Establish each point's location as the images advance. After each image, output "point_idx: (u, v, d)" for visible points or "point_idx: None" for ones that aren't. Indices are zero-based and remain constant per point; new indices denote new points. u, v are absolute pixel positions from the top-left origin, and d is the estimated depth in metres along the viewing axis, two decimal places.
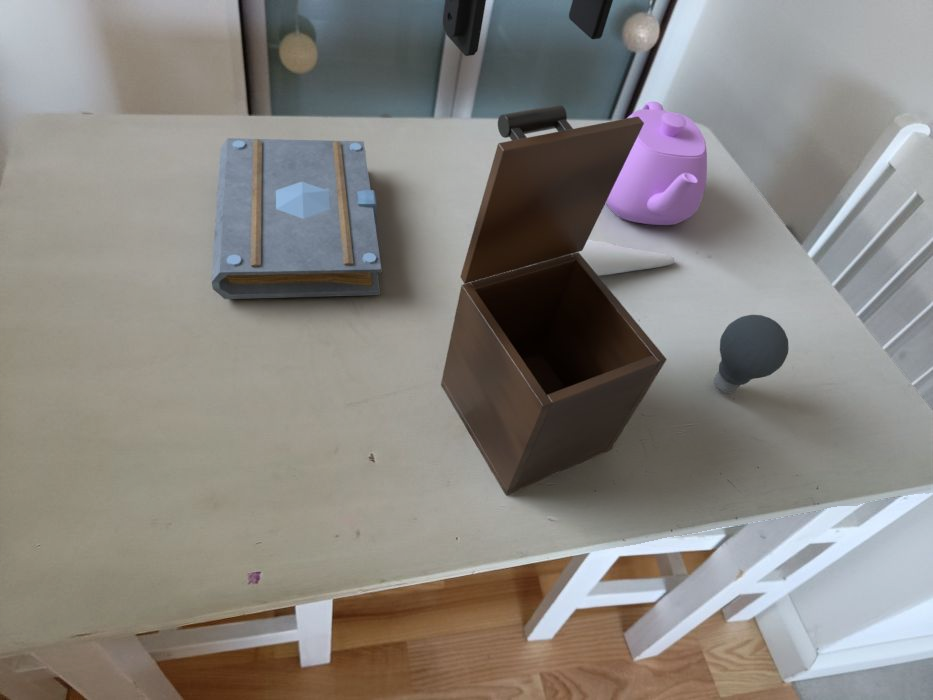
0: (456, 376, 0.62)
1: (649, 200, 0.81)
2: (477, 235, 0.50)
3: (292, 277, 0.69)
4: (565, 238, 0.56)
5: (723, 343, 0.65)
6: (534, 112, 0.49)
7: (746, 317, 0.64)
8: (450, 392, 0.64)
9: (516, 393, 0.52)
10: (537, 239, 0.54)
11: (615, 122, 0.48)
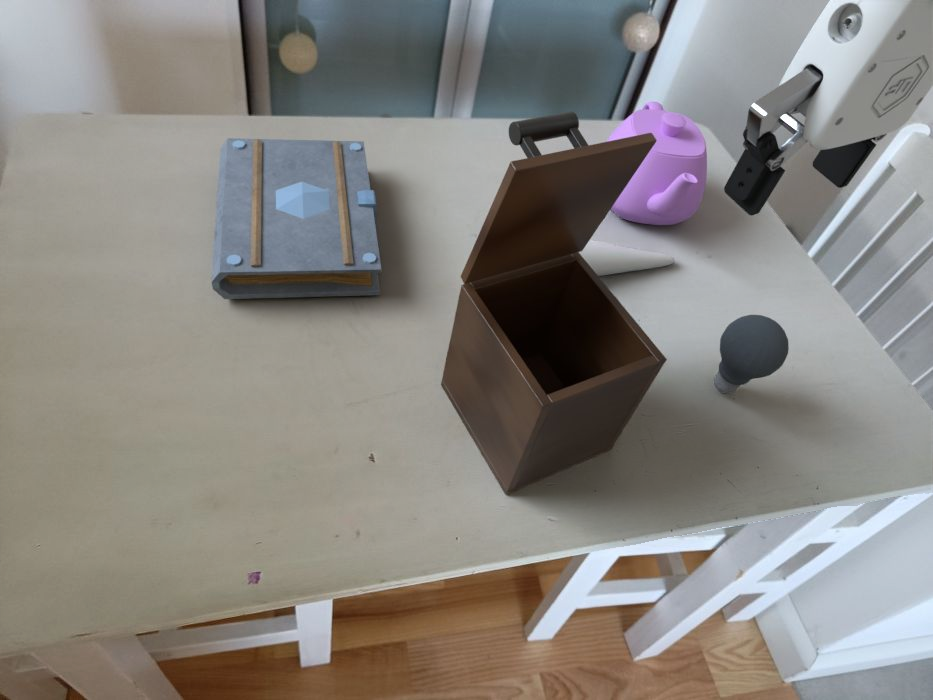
0: (456, 376, 0.62)
1: (649, 200, 0.81)
2: (481, 243, 0.50)
3: (292, 277, 0.69)
4: (567, 241, 0.56)
5: (723, 343, 0.65)
6: (546, 120, 0.48)
7: (746, 317, 0.64)
8: (450, 392, 0.64)
9: (516, 393, 0.52)
10: (540, 244, 0.54)
11: (628, 139, 0.47)
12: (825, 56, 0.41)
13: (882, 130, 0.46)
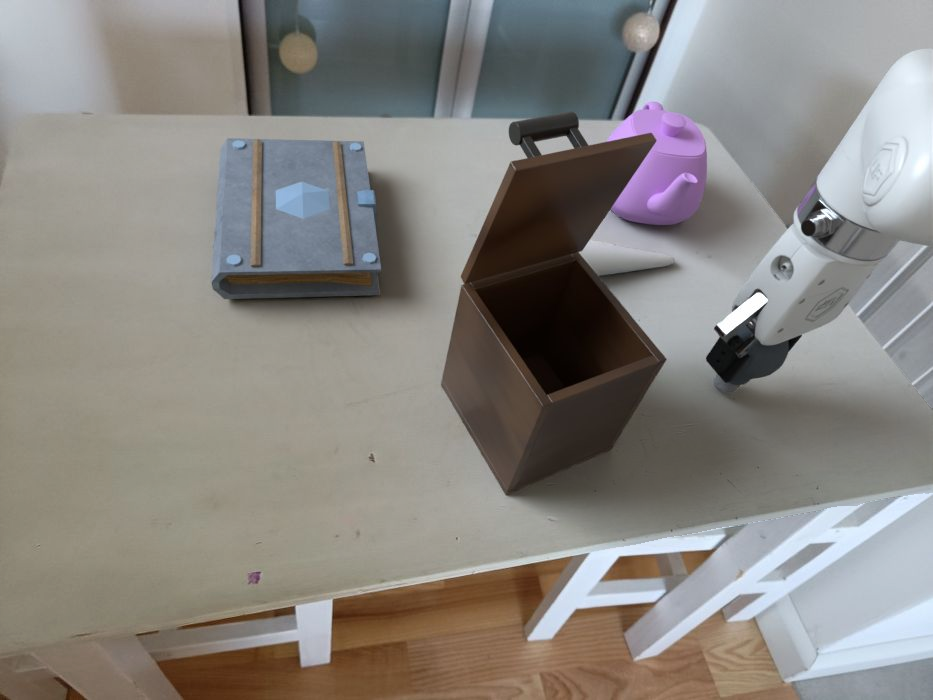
0: (456, 376, 0.62)
1: (649, 200, 0.81)
2: (481, 243, 0.50)
3: (291, 277, 0.69)
4: (567, 241, 0.56)
5: None
6: (546, 120, 0.48)
7: None
8: (450, 392, 0.64)
9: (516, 393, 0.52)
10: (540, 244, 0.54)
11: (628, 139, 0.47)
12: (769, 287, 0.55)
13: (817, 326, 0.60)
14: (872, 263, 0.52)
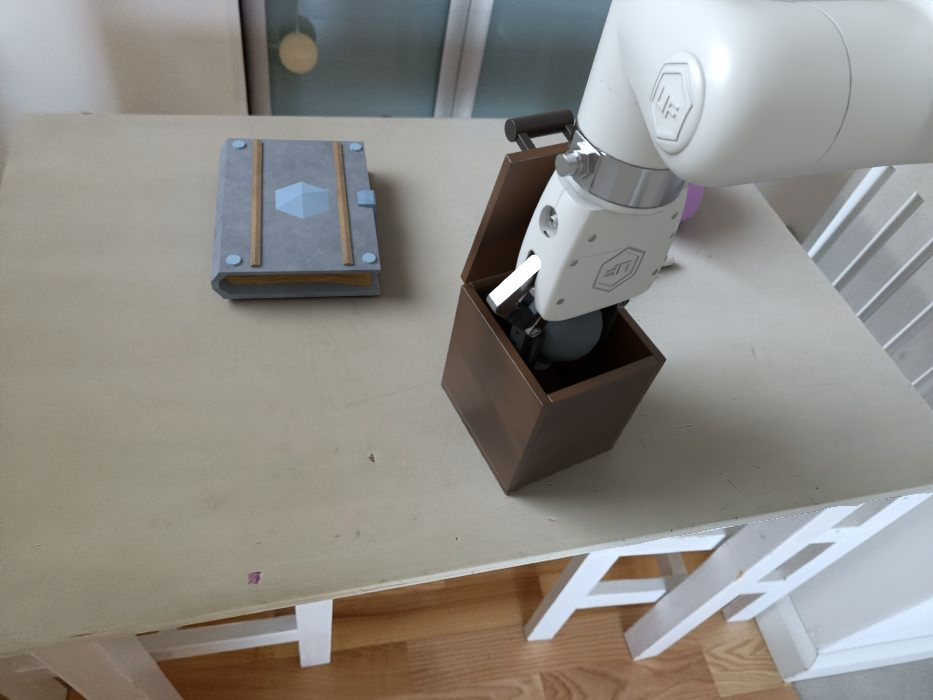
0: (456, 376, 0.62)
1: None
2: (479, 240, 0.50)
3: (291, 277, 0.69)
4: None
5: None
6: (542, 117, 0.49)
7: None
8: (450, 392, 0.64)
9: (516, 393, 0.52)
10: None
11: None
12: (539, 246, 0.45)
13: (621, 298, 0.49)
14: (650, 212, 0.41)
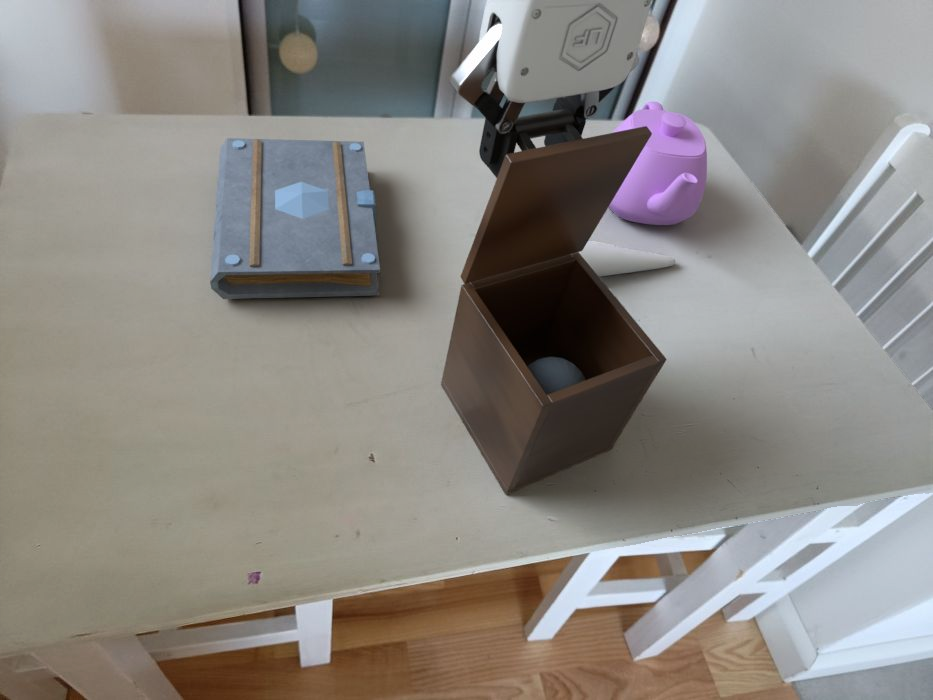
0: (456, 376, 0.62)
1: (649, 200, 0.81)
2: (479, 240, 0.50)
3: (290, 277, 0.69)
4: (566, 240, 0.56)
5: None
6: (542, 117, 0.49)
7: (549, 367, 0.56)
8: (450, 392, 0.64)
9: (516, 393, 0.52)
10: (539, 242, 0.54)
11: (623, 132, 0.47)
12: (500, 4, 0.41)
13: (593, 85, 0.46)
14: None
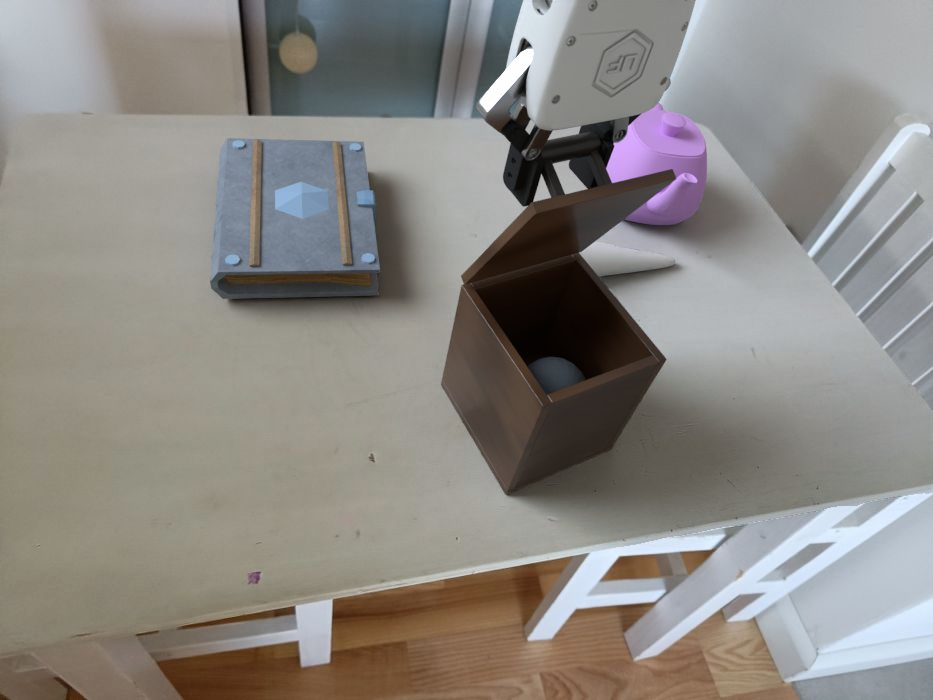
0: (456, 376, 0.62)
1: (649, 200, 0.81)
2: (487, 258, 0.50)
3: (290, 277, 0.69)
4: (569, 248, 0.56)
5: None
6: (569, 143, 0.47)
7: (549, 367, 0.56)
8: (450, 392, 0.64)
9: (516, 393, 0.52)
10: (543, 252, 0.54)
11: (649, 177, 0.46)
12: (532, 29, 0.39)
13: (625, 111, 0.44)
14: None
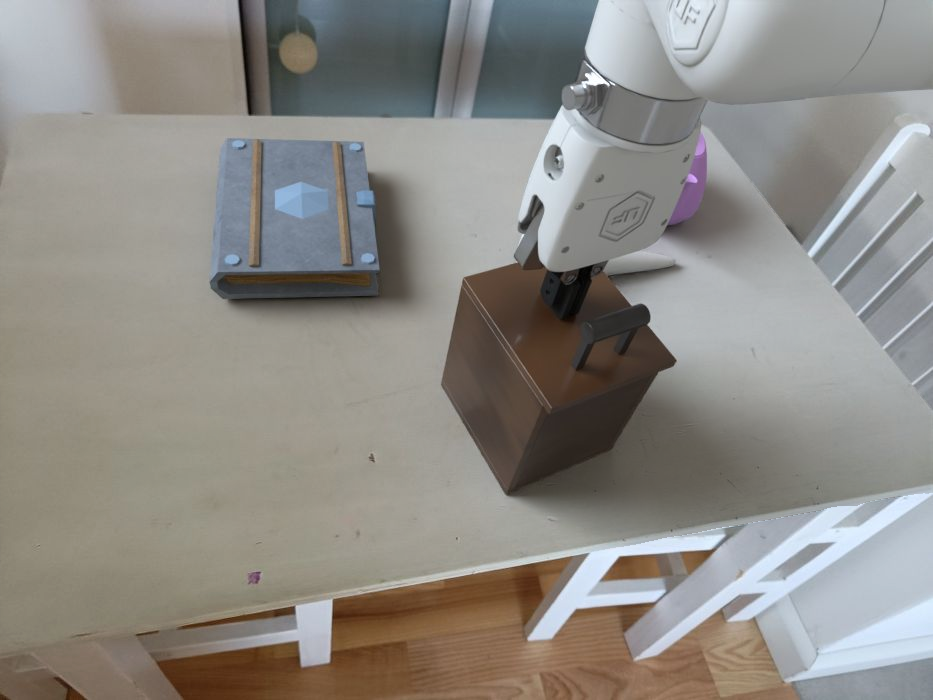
0: (456, 376, 0.62)
1: None
2: (494, 331, 0.52)
3: (290, 277, 0.69)
4: None
5: None
6: (620, 332, 0.48)
7: None
8: (450, 392, 0.64)
9: (516, 393, 0.52)
10: None
11: (654, 370, 0.52)
12: (543, 190, 0.42)
13: (629, 249, 0.47)
14: (661, 150, 0.39)
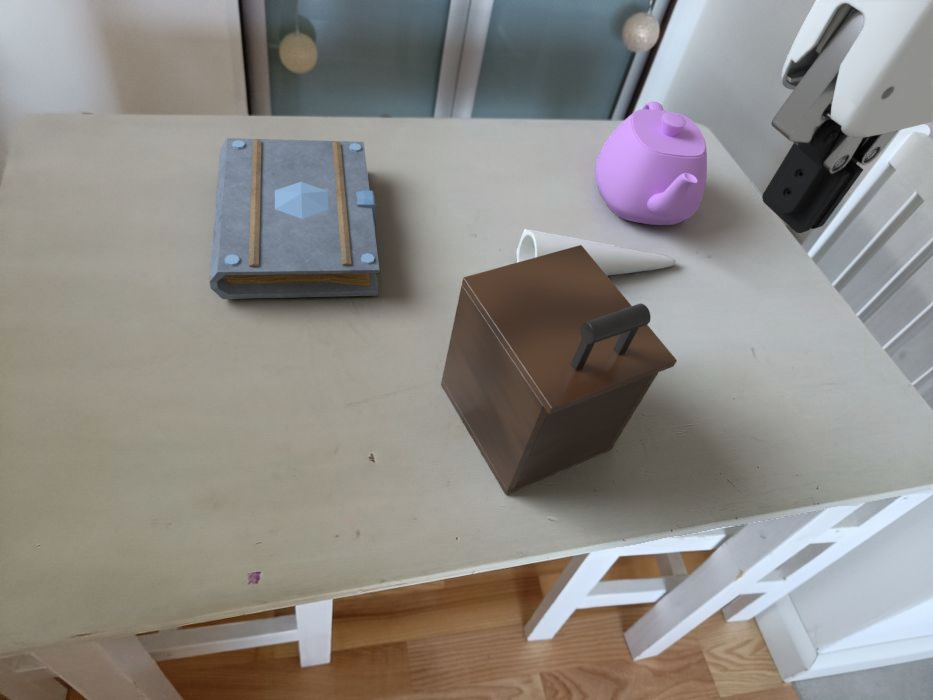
0: (456, 376, 0.62)
1: (649, 200, 0.81)
2: (494, 331, 0.52)
3: (290, 277, 0.69)
4: None
5: None
6: (620, 332, 0.48)
7: None
8: (450, 392, 0.64)
9: (516, 393, 0.52)
10: None
11: (654, 370, 0.52)
12: None
13: None
14: None
